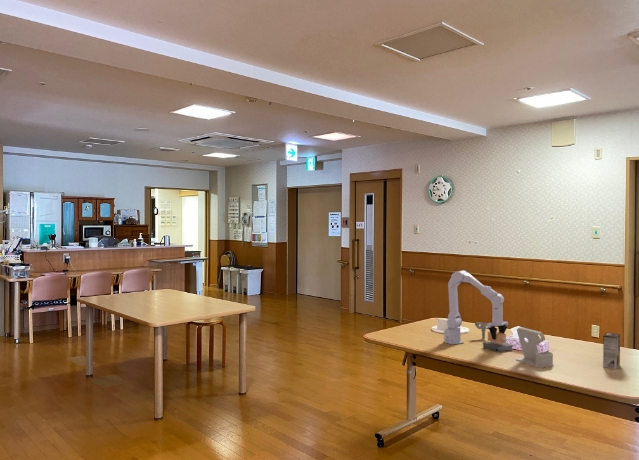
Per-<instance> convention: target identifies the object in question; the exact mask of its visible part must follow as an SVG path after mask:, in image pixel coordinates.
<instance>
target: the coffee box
mask: <svg viewBox="0 0 639 460" xmlns="http://www.w3.org/2000/svg"><path fill="white" fill-rule="evenodd" d="M602 338H603V339H602V340H603V341H602V343H603V344H602V350H603V351H602V367H603V368H606V367H608V368H607V369H612V368H614V369H613V370H618V369H617V368H619V367H620V366H621V334H620V333H614V332H609V331H607V332H605V333H604V334H603V335H602Z"/></svg>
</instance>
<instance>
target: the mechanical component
mask: <svg viewBox="0 0 639 460" xmlns="http://www.w3.org/2000/svg"><path fill="white" fill-rule="evenodd" d="M487 324H488V323H487V322H485V321H483V322H482V321H481V322H480V321H479V322H477V321H476V322H475V323H474V326H475V327H476V328H477V329H478V330H481V332H482V333H481V334H482V335H481V338H482V339H483V340H484V339H485V338H486V330H489V329H488V327H487Z"/></svg>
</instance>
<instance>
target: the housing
mask: <svg viewBox="0 0 639 460" xmlns="http://www.w3.org/2000/svg"><path fill="white" fill-rule="evenodd" d="M490 341H492V342H495V343H499V344H500V343H507V334H506V333H500V332H499V331H497V332H496V340H494V339H492V336H491V333H490V331H487V342H490Z"/></svg>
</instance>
